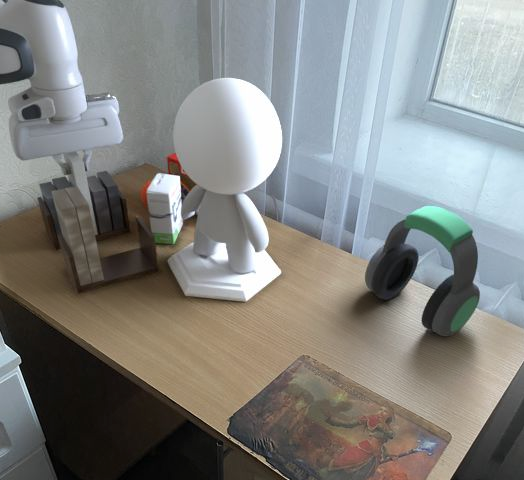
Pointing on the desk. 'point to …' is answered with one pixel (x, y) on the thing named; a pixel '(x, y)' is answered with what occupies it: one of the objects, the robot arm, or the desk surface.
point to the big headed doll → (225, 188)
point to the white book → (79, 179)
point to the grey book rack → (103, 202)
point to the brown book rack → (85, 246)
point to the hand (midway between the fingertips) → (75, 172)
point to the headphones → (406, 259)
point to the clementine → (143, 193)
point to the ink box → (165, 207)
